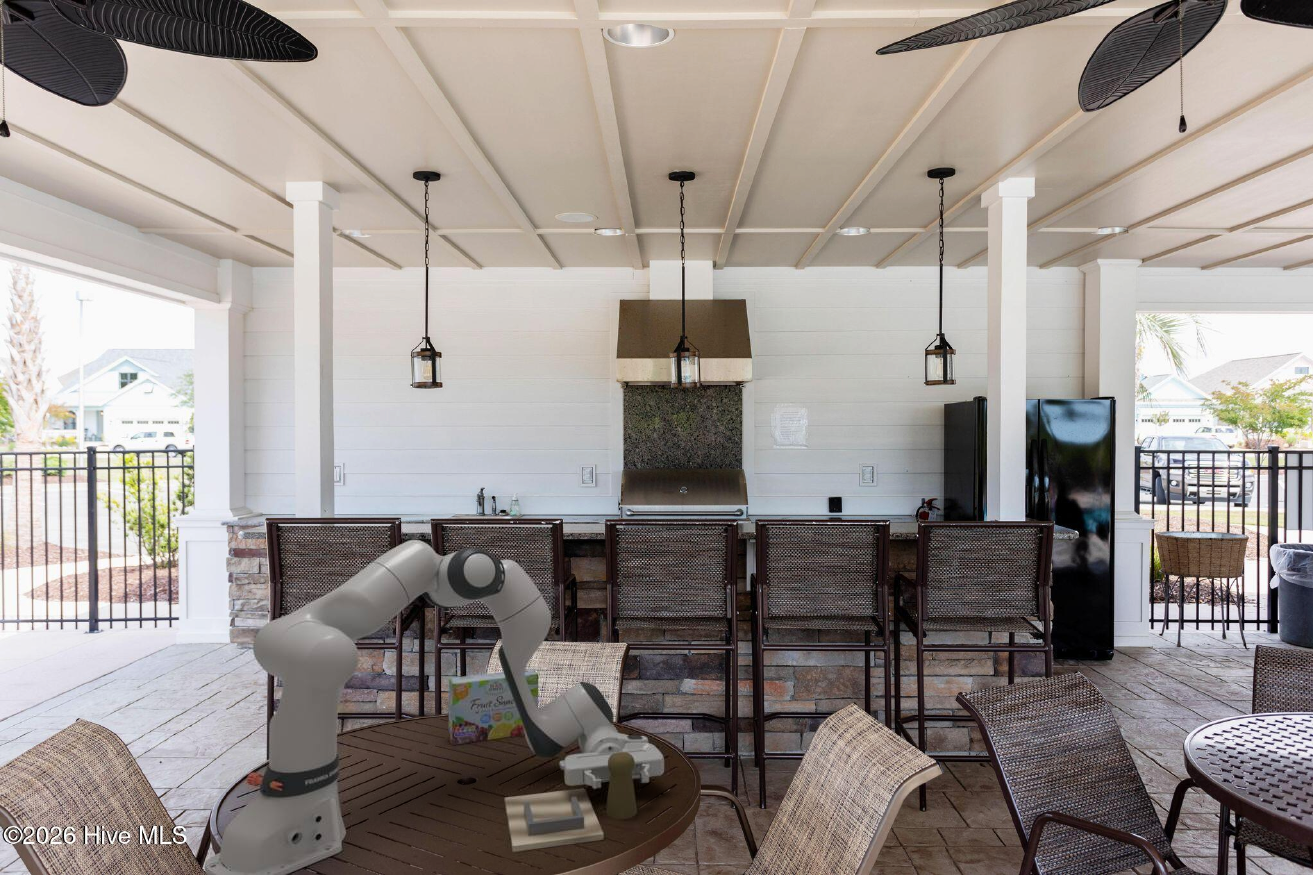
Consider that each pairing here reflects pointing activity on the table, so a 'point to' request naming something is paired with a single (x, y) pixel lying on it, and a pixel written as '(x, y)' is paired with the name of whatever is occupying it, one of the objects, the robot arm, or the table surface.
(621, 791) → the olive pawn
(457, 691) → the snack box
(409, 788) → the table surface
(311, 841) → the robot arm
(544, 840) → the board
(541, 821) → the frame
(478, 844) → the table surface
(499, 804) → the table surface
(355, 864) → the table surface
